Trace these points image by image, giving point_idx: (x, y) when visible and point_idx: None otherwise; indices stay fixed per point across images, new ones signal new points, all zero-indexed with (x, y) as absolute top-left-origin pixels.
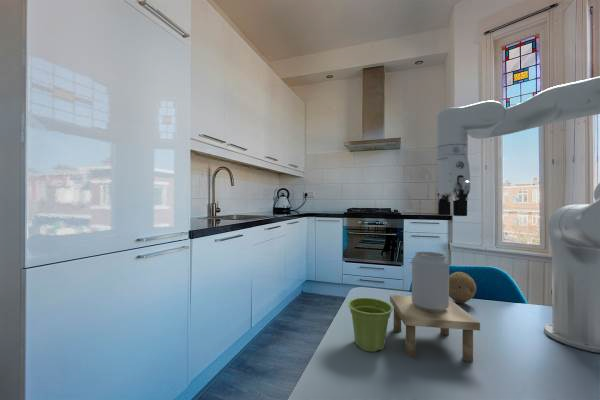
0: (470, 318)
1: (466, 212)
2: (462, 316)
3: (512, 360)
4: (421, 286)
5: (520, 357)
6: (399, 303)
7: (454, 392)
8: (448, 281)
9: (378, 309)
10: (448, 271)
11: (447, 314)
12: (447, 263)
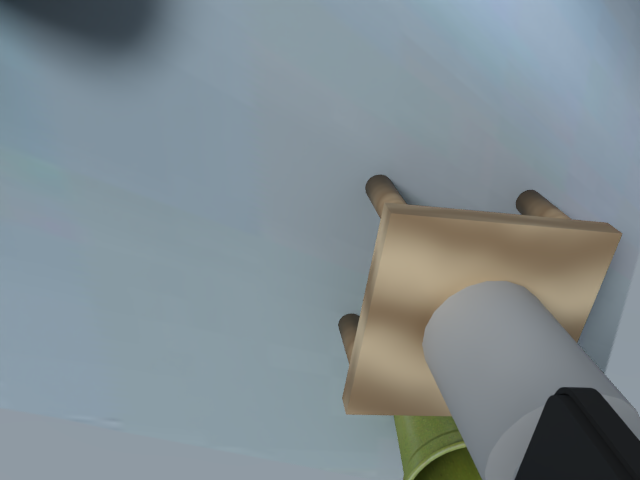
0: (588, 244)
1: (614, 424)
2: (570, 260)
3: (554, 71)
4: None
5: (546, 29)
6: (435, 405)
7: (622, 294)
8: (581, 350)
9: (424, 444)
10: (607, 379)
11: (546, 299)
12: (637, 414)
